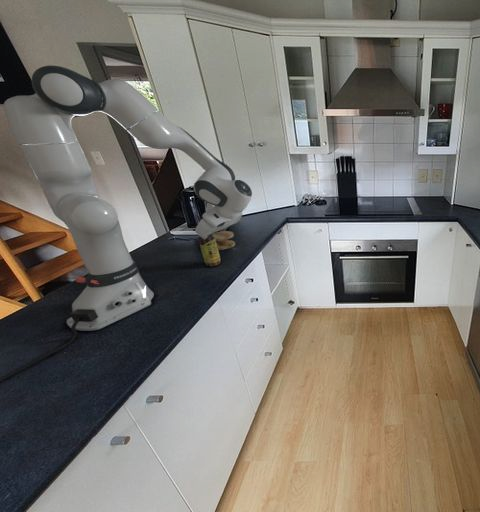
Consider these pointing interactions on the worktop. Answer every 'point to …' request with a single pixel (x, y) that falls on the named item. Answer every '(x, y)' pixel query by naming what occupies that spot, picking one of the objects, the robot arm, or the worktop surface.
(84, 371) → the worktop surface
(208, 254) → the sauce bottle
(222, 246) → the stand
